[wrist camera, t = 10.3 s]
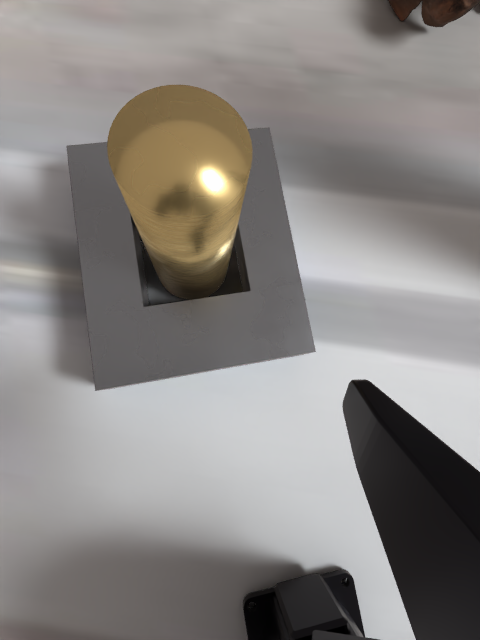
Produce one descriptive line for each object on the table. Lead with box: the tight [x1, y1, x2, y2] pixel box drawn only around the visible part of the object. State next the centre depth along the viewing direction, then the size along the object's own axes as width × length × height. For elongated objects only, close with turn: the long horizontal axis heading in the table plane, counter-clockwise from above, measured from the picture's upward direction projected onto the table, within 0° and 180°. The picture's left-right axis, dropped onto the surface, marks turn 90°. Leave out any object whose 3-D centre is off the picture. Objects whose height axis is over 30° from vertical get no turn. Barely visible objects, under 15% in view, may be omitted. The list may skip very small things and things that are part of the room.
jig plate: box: [67, 128, 316, 391], centre depth 22 cm, size 14×12×3 cm
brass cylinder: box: [107, 85, 252, 300], centre depth 17 cm, size 5×5×12 cm
